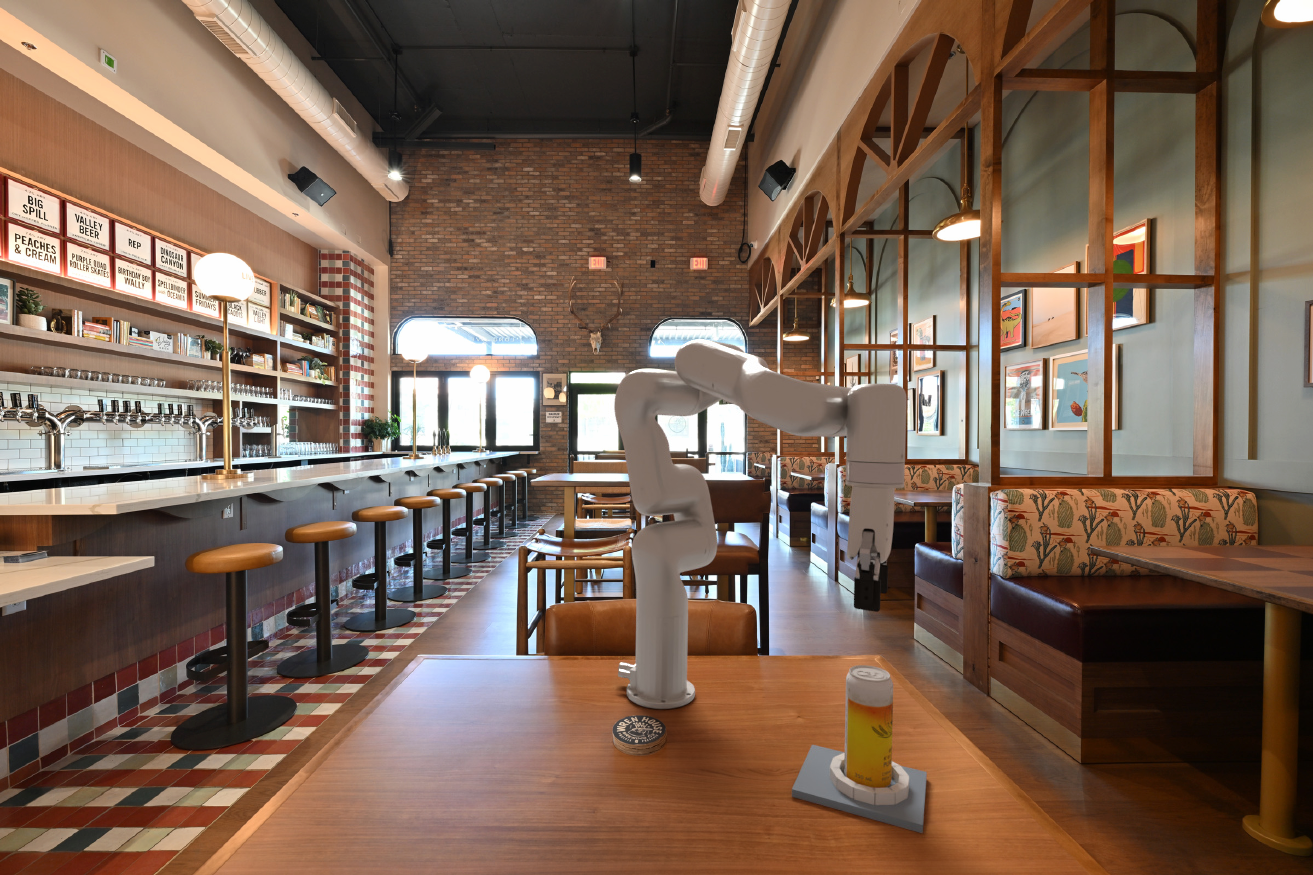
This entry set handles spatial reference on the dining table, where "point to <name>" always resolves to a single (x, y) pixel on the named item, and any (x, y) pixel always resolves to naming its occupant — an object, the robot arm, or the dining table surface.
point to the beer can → (868, 726)
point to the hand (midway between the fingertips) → (871, 600)
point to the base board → (862, 790)
